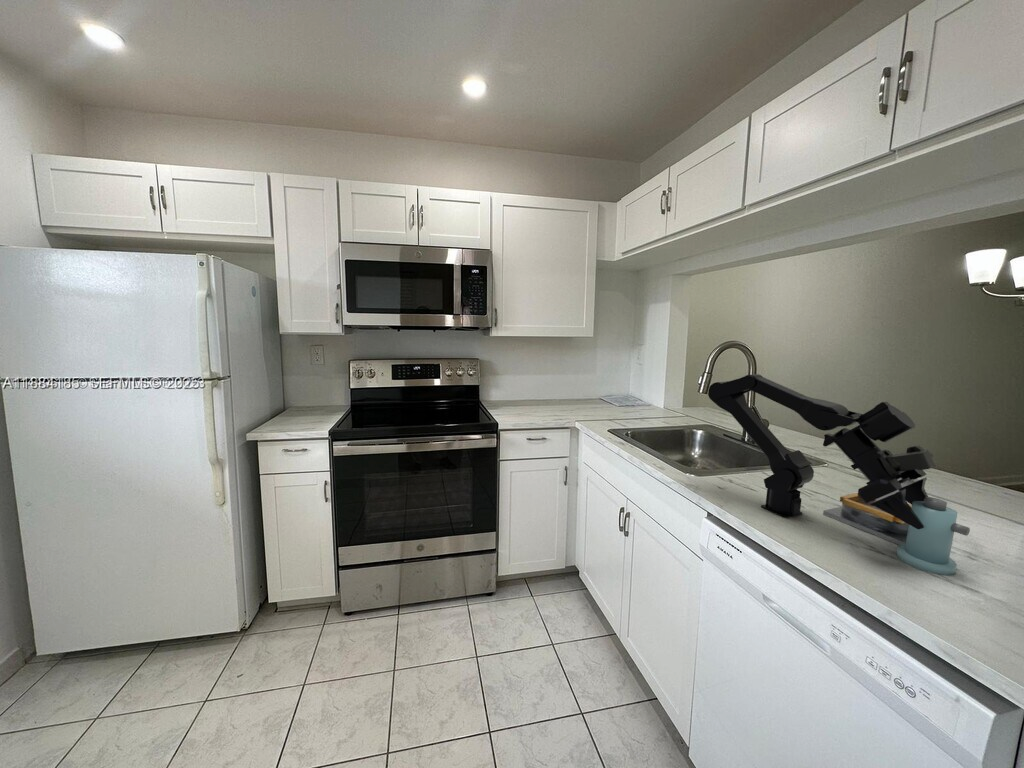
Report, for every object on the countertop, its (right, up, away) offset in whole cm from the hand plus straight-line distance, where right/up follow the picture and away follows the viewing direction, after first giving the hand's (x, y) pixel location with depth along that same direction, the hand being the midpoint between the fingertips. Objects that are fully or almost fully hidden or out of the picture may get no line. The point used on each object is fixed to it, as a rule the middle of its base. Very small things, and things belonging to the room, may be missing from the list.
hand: (929, 522), depth 77 cm
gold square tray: (+5, -6, +16) cm, 18 cm away
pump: (0, -8, +1) cm, 8 cm away
